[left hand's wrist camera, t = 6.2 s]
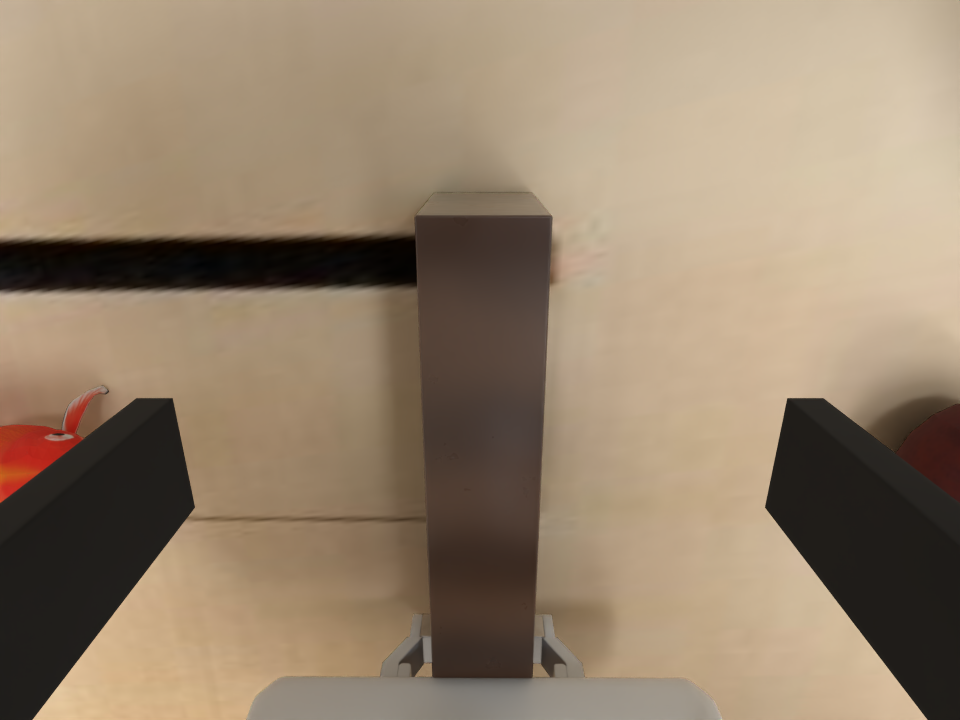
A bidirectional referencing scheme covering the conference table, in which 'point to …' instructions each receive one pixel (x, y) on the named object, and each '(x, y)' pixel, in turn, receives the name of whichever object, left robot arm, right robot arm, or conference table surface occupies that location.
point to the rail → (483, 423)
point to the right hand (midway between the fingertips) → (483, 622)
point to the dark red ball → (937, 450)
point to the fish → (38, 445)
